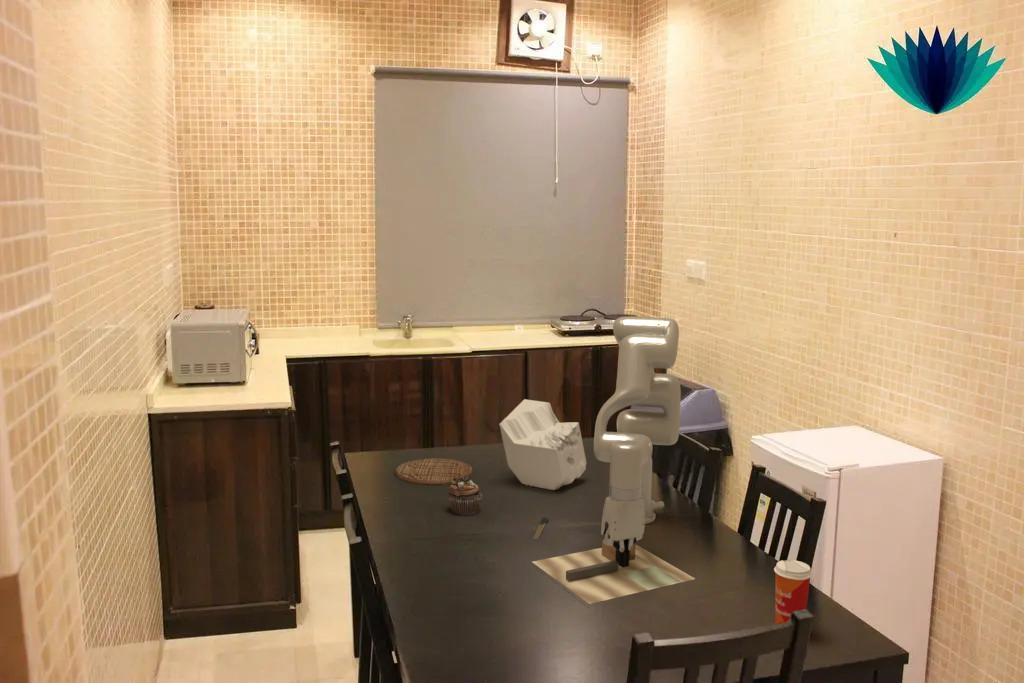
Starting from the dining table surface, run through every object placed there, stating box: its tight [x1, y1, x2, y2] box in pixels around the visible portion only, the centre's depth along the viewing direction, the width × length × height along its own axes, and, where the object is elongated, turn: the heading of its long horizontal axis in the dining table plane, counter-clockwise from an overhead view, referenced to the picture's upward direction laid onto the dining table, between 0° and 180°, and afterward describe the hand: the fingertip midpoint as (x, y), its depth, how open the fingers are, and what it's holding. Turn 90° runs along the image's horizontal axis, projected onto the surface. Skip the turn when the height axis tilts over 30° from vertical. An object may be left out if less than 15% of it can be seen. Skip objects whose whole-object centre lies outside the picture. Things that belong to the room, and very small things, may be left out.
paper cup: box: [773, 559, 813, 625], centre depth 186 cm, size 8×8×14 cm
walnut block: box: [601, 539, 637, 561], centre depth 221 cm, size 6×6×4 cm
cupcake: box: [448, 476, 483, 516], centre depth 255 cm, size 10×10×10 cm
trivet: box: [396, 457, 473, 486], centre depth 291 cm, size 25×25×2 cm
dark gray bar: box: [566, 561, 619, 581], centre depth 210 cm, size 14×2×2 cm, turn 118°
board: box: [532, 544, 696, 609], centre depth 213 cm, size 30×26×1 cm
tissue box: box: [498, 398, 588, 491], centre depth 279 cm, size 20×16×25 cm
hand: (622, 564), depth 214 cm, fingers closed
